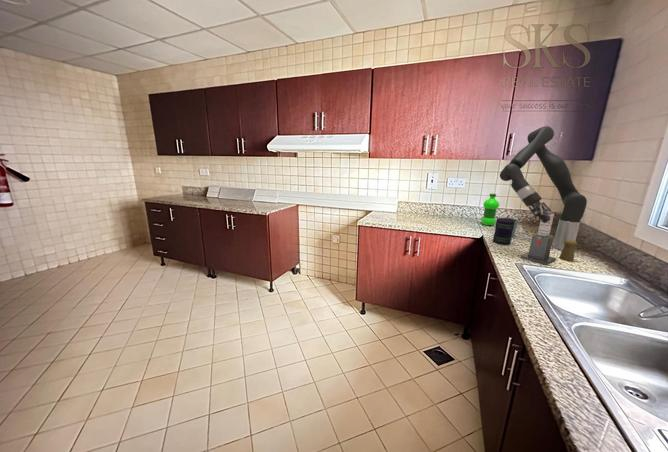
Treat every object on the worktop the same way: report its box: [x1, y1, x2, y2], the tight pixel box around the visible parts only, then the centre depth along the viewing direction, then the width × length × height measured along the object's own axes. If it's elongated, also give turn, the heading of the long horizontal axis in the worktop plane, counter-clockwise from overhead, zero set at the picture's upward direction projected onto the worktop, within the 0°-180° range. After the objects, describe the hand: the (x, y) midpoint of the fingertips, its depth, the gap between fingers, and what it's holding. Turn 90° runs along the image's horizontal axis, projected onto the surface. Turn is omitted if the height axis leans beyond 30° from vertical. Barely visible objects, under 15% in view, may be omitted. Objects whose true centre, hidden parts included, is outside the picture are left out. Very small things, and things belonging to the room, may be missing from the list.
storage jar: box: [492, 217, 515, 246], centre depth 165 cm, size 10×10×15 cm
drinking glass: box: [504, 217, 519, 239], centre depth 179 cm, size 10×10×12 cm
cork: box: [558, 239, 578, 263], centre depth 139 cm, size 6×6×11 cm
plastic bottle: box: [480, 193, 500, 226], centre depth 205 cm, size 10×10×25 cm
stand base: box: [519, 232, 557, 266], centre depth 139 cm, size 12×12×14 cm
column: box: [537, 211, 555, 237], centre depth 136 cm, size 4×4×20 cm
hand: (549, 221), depth 133 cm, fingers open, 8 cm apart
